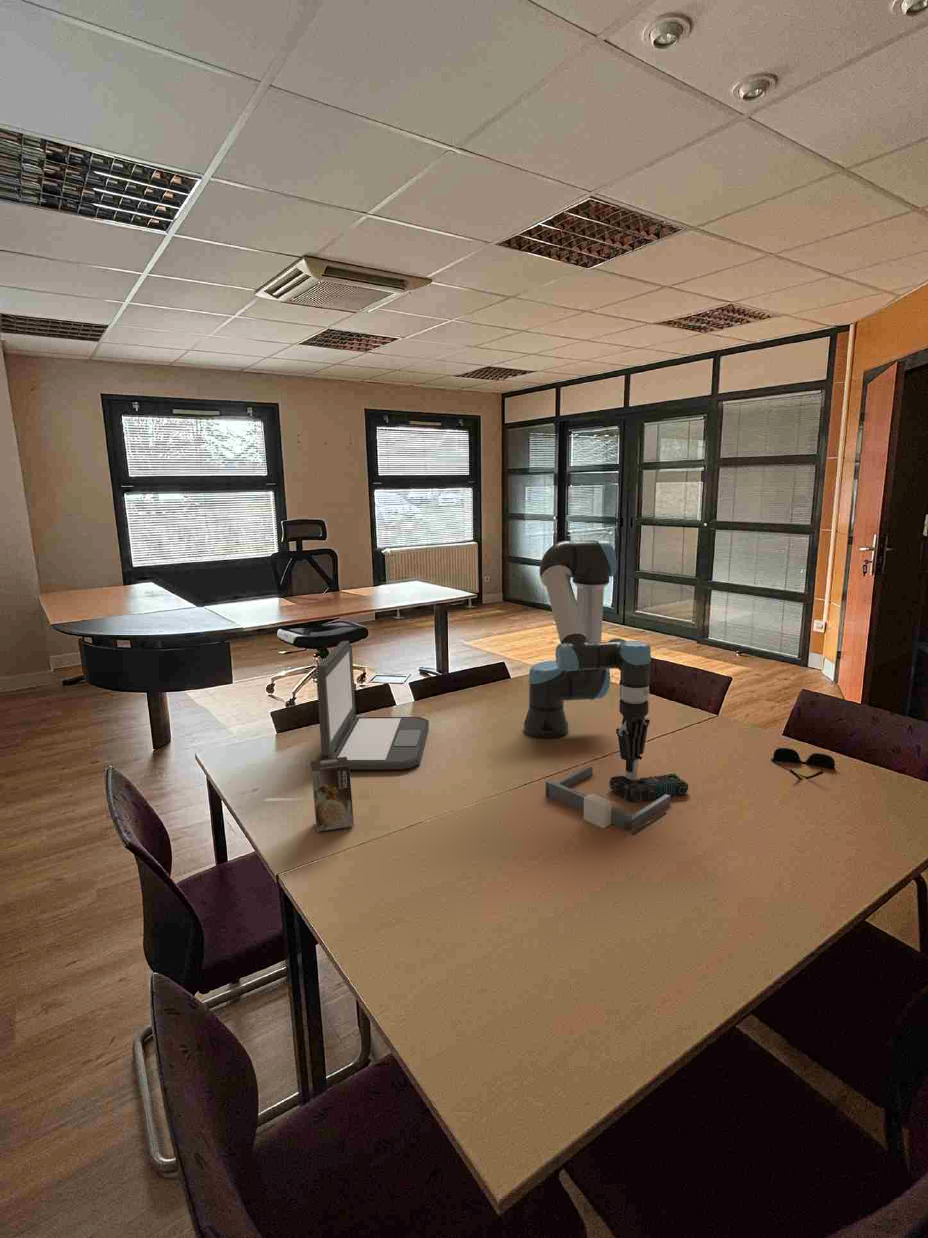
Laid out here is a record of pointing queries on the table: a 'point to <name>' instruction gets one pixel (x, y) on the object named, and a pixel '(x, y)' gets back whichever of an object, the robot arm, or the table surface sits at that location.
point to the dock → (601, 804)
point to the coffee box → (332, 793)
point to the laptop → (362, 722)
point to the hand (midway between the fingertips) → (631, 781)
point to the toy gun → (648, 787)
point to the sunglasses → (793, 757)
